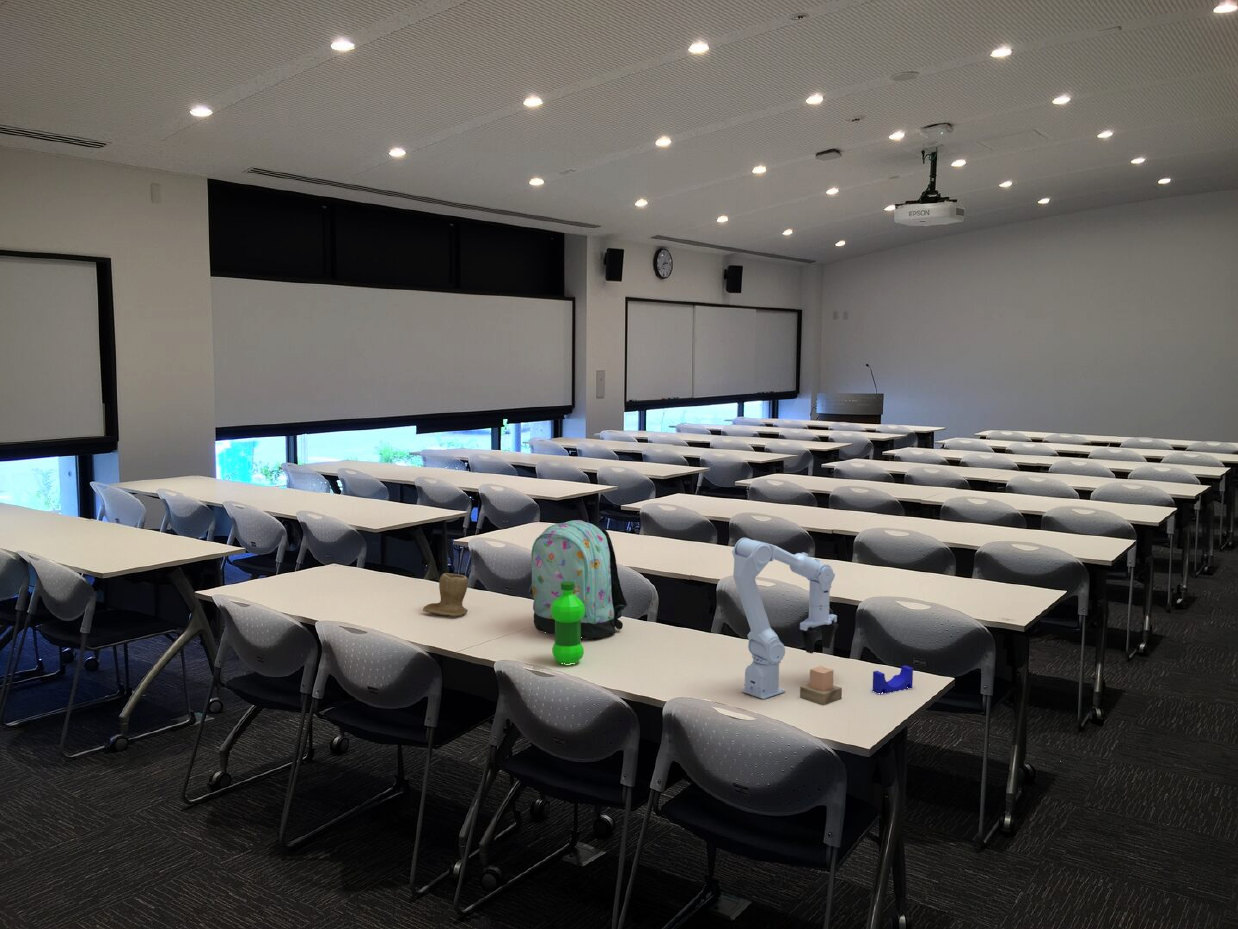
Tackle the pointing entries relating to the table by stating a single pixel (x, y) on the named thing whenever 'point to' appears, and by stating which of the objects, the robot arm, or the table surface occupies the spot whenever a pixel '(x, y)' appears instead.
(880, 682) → the blue cradle block
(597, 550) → the backpack
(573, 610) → the plastic bottle
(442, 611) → the brown boot
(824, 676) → the light tan block
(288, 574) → the table surface
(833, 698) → the olive block
